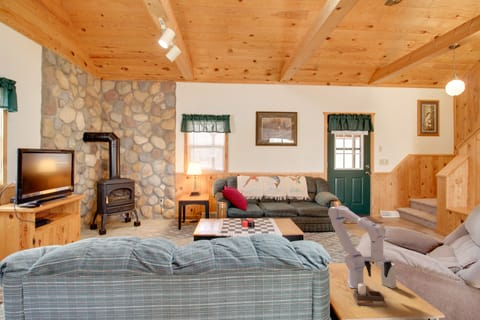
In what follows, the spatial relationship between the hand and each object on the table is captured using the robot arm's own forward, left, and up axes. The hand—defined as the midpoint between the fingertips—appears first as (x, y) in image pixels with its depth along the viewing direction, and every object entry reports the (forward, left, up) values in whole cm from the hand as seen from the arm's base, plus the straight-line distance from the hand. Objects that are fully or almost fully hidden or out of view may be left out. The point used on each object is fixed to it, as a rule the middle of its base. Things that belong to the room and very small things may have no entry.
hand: (377, 276), depth 142 cm
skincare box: (-12, +9, -10) cm, 18 cm away
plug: (+6, -9, -8) cm, 14 cm away
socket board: (+7, -6, -9) cm, 13 cm away
